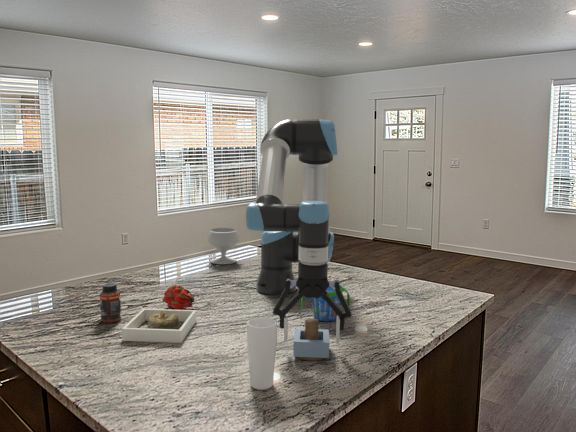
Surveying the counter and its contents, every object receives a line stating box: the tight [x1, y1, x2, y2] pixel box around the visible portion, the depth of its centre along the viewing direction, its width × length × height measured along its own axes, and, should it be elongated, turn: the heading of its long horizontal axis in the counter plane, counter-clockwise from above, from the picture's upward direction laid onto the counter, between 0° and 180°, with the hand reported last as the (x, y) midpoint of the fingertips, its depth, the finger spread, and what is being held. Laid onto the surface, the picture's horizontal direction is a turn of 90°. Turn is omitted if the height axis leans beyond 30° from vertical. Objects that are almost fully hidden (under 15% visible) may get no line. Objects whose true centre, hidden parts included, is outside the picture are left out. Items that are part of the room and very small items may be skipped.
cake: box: [146, 311, 181, 330], centre depth 145 cm, size 10×10×5 cm
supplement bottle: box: [99, 282, 122, 324], centre depth 150 cm, size 6×6×11 cm
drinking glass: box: [246, 316, 278, 391], centre depth 110 cm, size 7×7×15 cm
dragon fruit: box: [161, 284, 196, 310], centre depth 161 cm, size 8×8×12 cm
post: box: [296, 317, 326, 362], centre depth 128 cm, size 9×9×9 cm
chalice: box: [207, 227, 240, 265], centre depth 225 cm, size 14×14×15 cm
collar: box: [293, 327, 330, 359], centre depth 128 cm, size 9×9×4 cm
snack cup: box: [300, 285, 351, 322], centre depth 154 cm, size 16×10×10 cm
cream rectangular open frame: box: [121, 308, 197, 344], centre depth 143 cm, size 17×17×4 cm
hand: (311, 340), depth 128 cm, fingers open, 13 cm apart
